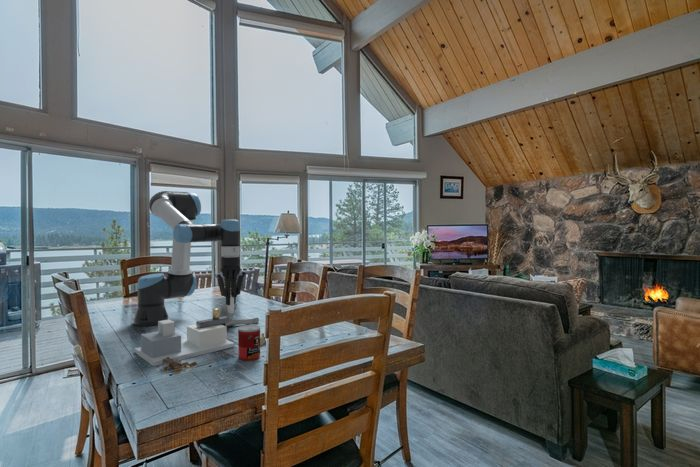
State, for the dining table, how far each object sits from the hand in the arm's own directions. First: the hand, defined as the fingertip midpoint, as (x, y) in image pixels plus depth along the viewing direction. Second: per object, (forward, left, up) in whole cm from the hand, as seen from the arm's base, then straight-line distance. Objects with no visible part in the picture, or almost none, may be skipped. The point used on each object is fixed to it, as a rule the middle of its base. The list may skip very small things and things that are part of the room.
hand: (230, 312), depth 165 cm
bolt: (0, -8, -4) cm, 9 cm away
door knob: (+13, +9, -12) cm, 20 cm away
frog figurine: (+18, -29, -12) cm, 36 cm away
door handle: (-23, +16, -12) cm, 30 cm away
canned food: (+25, -6, -12) cm, 28 cm away
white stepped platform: (0, -19, -11) cm, 22 cm away
